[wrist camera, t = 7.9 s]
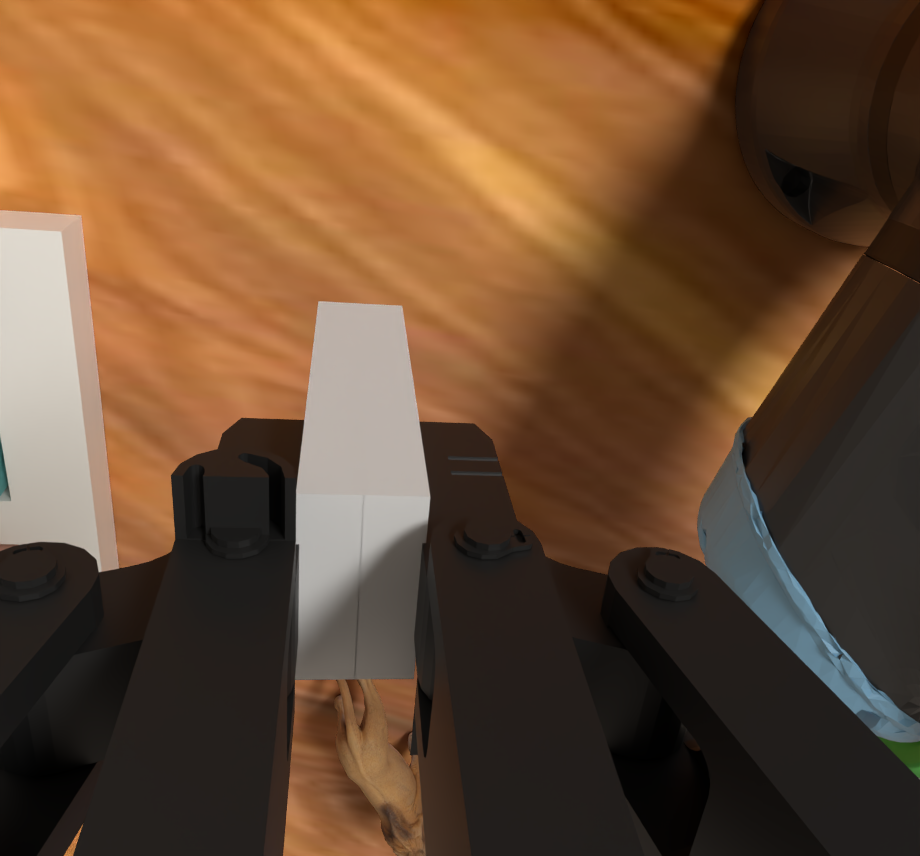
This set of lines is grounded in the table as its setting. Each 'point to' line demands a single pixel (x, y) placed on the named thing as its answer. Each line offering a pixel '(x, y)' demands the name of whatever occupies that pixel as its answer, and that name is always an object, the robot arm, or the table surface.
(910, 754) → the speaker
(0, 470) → the teal button
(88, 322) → the button board
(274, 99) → the table surface
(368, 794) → the lion figurine
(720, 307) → the table surface
